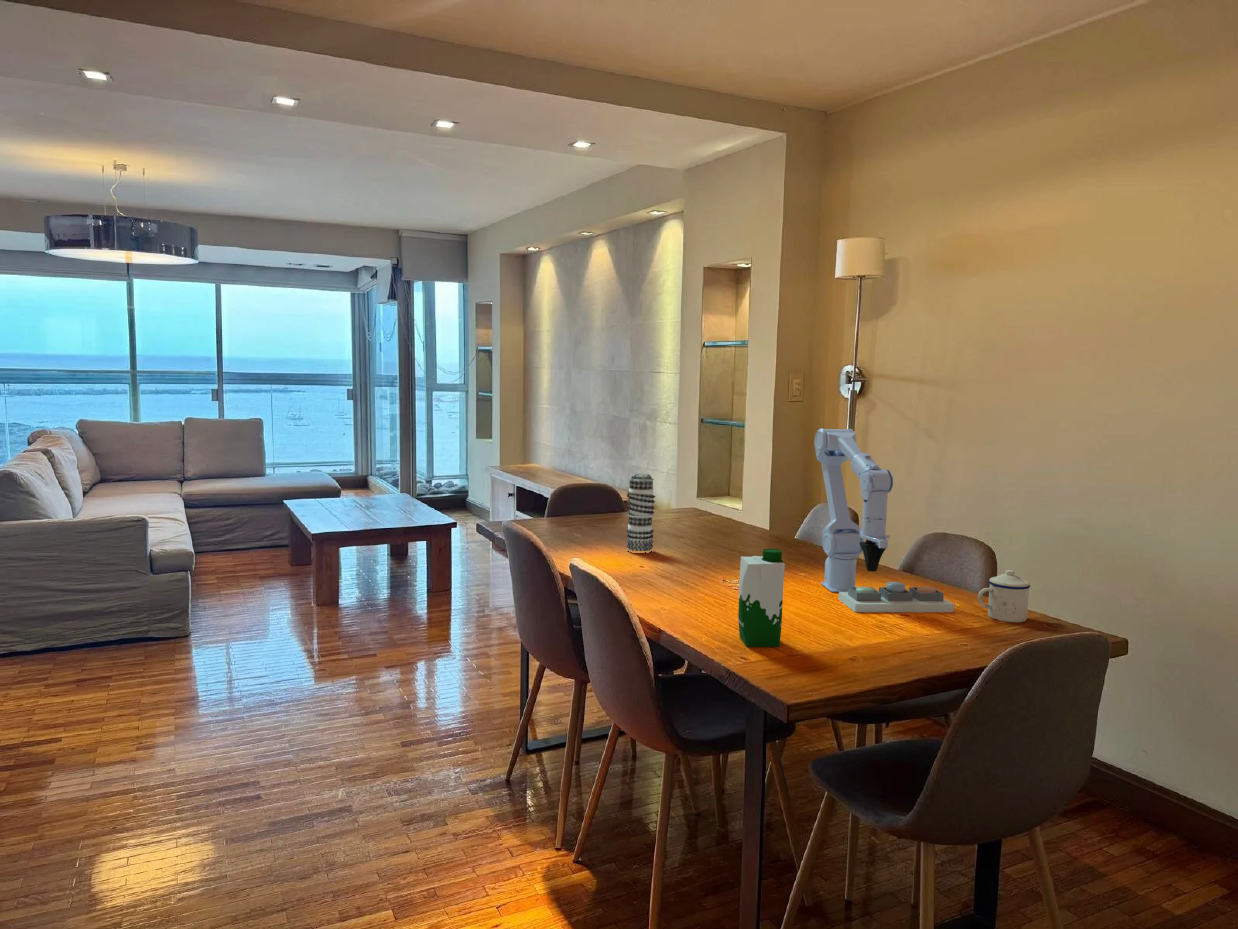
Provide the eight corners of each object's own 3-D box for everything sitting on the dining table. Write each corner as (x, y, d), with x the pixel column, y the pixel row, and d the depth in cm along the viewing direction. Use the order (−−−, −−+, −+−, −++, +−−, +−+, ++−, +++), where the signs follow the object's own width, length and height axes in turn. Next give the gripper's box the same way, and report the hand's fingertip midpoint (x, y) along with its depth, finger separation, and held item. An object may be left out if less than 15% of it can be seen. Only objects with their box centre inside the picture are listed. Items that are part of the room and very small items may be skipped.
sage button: (852, 595, 217) (853, 586, 216) (869, 595, 217) (870, 586, 217) (858, 599, 212) (859, 591, 212) (876, 599, 213) (876, 591, 212)
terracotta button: (913, 595, 218) (914, 586, 218) (930, 595, 218) (930, 586, 218) (921, 599, 214) (921, 591, 213) (938, 599, 214) (938, 591, 214)
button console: (838, 599, 220) (839, 584, 220) (932, 599, 222) (932, 584, 222) (854, 612, 209) (855, 596, 208) (953, 612, 211) (954, 596, 210)
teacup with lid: (1015, 612, 211) (1018, 566, 210) (1035, 623, 202) (1038, 575, 201) (968, 612, 210) (971, 566, 209) (986, 623, 201) (989, 574, 200)
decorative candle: (621, 552, 273) (623, 475, 271) (629, 547, 282) (631, 472, 279) (649, 555, 271) (651, 476, 268) (656, 549, 279) (658, 473, 277)
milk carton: (785, 648, 179) (788, 554, 177) (742, 648, 179) (745, 554, 177) (774, 635, 188) (778, 546, 186) (733, 635, 187) (737, 546, 185)
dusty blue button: (883, 590, 217) (884, 581, 217) (900, 590, 217) (900, 581, 217) (890, 594, 213) (890, 586, 213) (907, 594, 213) (908, 586, 213)
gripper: (901, 522, 207) (898, 577, 208) (879, 513, 221) (876, 564, 223) (872, 522, 207) (869, 577, 208) (852, 512, 221) (850, 564, 222)
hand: (871, 570), depth 215 cm, fingers closed
